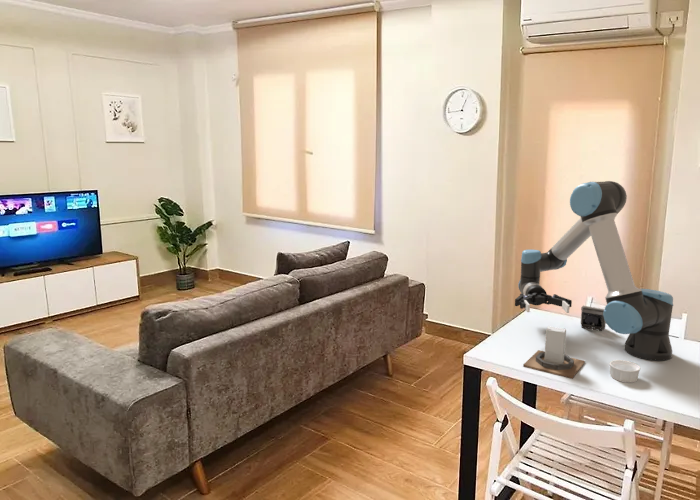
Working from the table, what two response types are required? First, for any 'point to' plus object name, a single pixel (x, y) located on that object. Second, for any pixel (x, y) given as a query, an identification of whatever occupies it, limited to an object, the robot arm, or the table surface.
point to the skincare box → (555, 345)
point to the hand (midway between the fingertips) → (548, 309)
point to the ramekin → (624, 371)
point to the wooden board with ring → (565, 369)
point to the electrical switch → (592, 318)
